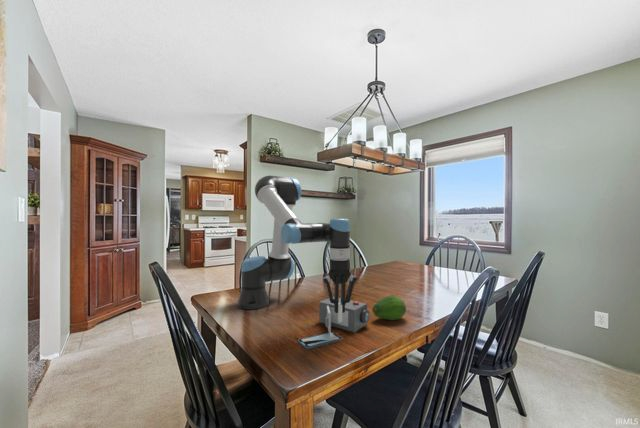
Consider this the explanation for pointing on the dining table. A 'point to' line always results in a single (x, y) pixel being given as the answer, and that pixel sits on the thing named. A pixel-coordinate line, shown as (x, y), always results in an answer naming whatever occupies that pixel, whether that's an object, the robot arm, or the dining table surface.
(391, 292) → the dining table surface
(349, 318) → the camera body
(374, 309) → the fruit
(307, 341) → the smartphone
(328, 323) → the door
